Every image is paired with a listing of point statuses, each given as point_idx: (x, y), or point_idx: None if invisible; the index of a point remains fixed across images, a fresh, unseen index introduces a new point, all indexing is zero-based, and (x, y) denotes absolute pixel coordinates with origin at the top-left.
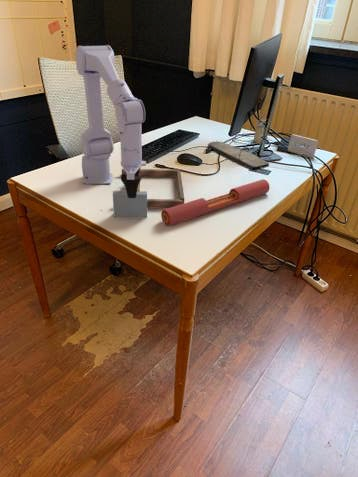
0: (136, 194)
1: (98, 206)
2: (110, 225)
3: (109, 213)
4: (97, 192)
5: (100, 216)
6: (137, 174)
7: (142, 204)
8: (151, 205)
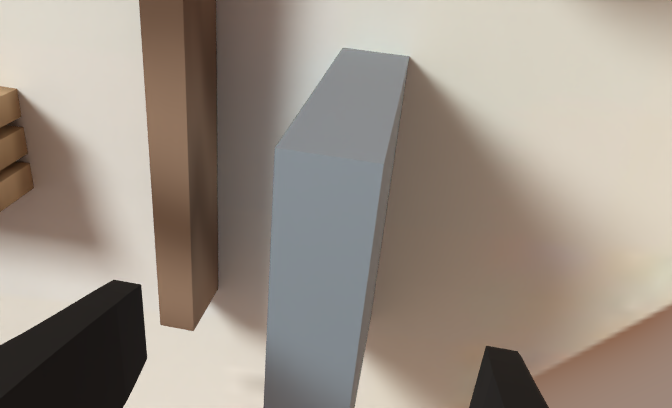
0: (363, 300)
1: (205, 394)
2: None
3: None
4: None
5: None
6: (16, 406)
7: (390, 159)
8: None
